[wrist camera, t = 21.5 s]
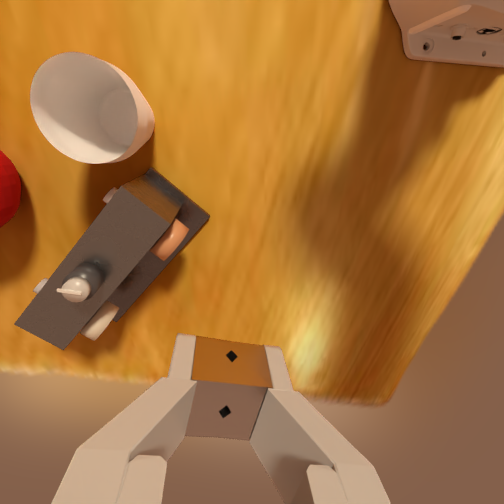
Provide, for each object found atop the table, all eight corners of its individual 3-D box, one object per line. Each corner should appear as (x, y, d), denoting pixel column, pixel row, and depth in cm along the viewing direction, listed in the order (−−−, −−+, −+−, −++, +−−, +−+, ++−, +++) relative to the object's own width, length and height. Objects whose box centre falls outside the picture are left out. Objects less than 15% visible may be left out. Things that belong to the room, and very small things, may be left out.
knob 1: (123, 301, 40) (110, 322, 36) (103, 324, 41) (88, 348, 37) (60, 262, 37) (38, 280, 32) (40, 288, 38) (16, 309, 34)
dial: (105, 265, 31) (91, 281, 28) (103, 291, 32) (90, 309, 29) (73, 260, 31) (55, 275, 27) (73, 286, 32) (55, 304, 28)
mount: (209, 215, 41) (206, 241, 31) (117, 319, 46) (89, 370, 36) (151, 166, 38) (126, 178, 28) (59, 284, 43) (9, 329, 33)
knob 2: (190, 224, 37) (186, 236, 32) (167, 251, 38) (159, 267, 33) (128, 174, 34) (113, 180, 29) (104, 205, 35) (86, 215, 30)
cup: (172, 151, 38) (152, 157, 27) (103, 162, 37) (54, 173, 26) (153, 72, 34) (120, 41, 23) (77, 83, 34) (7, 58, 23)
